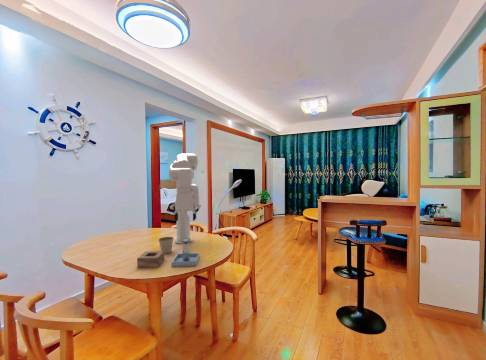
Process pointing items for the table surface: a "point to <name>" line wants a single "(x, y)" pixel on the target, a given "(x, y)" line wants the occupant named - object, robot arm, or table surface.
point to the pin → (186, 249)
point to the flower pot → (166, 244)
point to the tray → (179, 261)
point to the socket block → (150, 259)
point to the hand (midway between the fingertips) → (185, 220)
